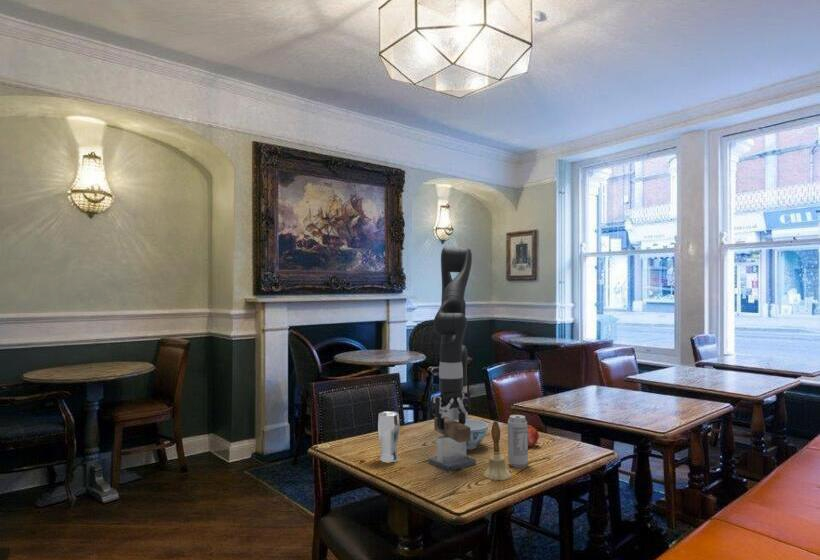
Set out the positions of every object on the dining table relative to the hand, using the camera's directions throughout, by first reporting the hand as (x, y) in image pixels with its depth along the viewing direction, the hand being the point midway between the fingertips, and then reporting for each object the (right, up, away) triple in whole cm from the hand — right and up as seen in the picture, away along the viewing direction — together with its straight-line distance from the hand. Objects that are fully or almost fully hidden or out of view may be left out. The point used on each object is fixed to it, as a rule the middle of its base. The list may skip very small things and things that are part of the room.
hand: (451, 427), depth 162 cm
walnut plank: (0, -2, 0) cm, 2 cm away
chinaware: (+7, -12, +18) cm, 23 cm away
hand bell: (+13, -11, -11) cm, 20 cm away
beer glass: (-20, -12, +4) cm, 24 cm away
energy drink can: (+21, -11, -2) cm, 24 cm away
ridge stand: (0, -11, 0) cm, 11 cm away
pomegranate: (+28, -12, +18) cm, 36 cm away
